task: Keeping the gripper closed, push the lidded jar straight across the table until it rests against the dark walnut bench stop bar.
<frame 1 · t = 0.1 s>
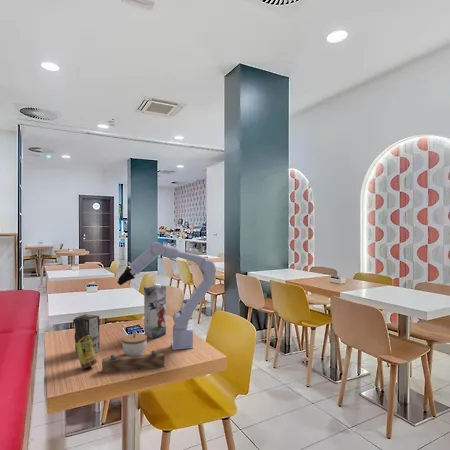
hand: (119, 282, 153), 32 cm above the table, tool tilted 50°, fingers open, 7 cm apart
bench stop: (133, 368, 136), on the table
juice carton: (155, 335, 176), on the table
lidded jar: (134, 355, 150), on the table
sauce bottle: (90, 366, 137), point 1 cm above the table
coffee box: (87, 352, 154), on the table
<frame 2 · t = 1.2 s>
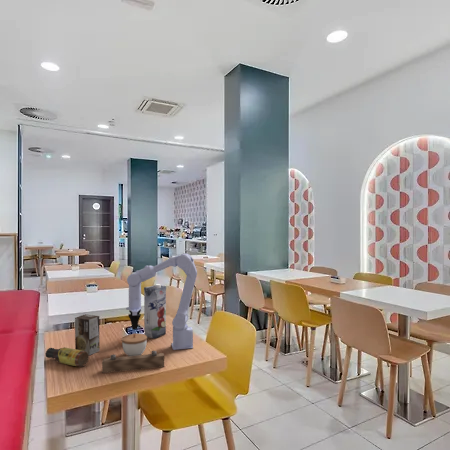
hand: (134, 326, 160), 9 cm above the table, tool pointing down, fingers open, 7 cm apart
sauce bottle: (84, 359, 138), point 3 cm above the table
everything else where it was.
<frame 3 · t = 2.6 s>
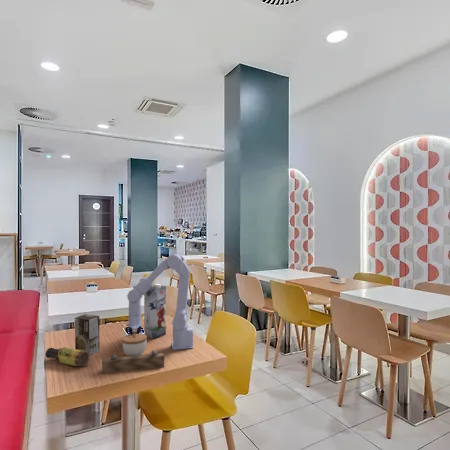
hand: (134, 342, 161), 2 cm above the table, tool pointing down, fingers closed
nothing on the table moved.
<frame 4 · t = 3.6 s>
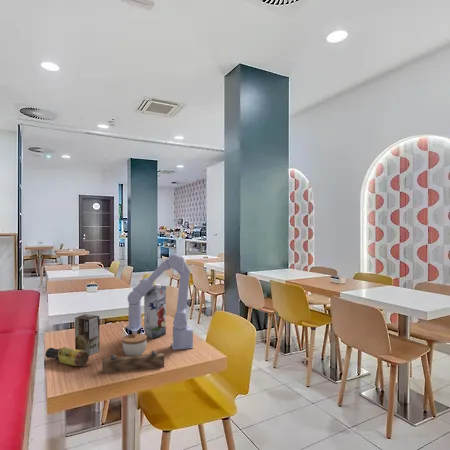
hand: (134, 345, 158), 1 cm above the table, tool pointing down, fingers closed
lidded jar: (134, 355, 150), on the table, touching gripper
everything else where it was.
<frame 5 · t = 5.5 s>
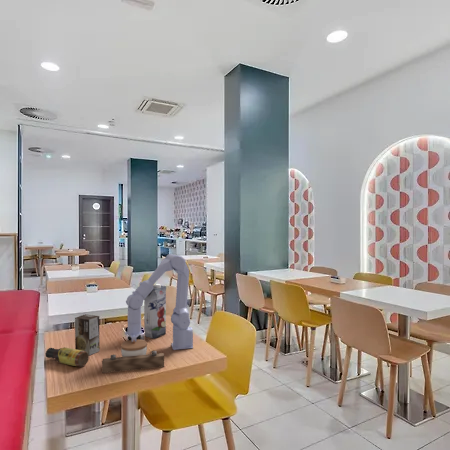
hand: (134, 352, 149), 1 cm above the table, tool pointing down, fingers closed
lidded jar: (134, 362, 143), on the table, touching bench stop, gripper
everything else where it was.
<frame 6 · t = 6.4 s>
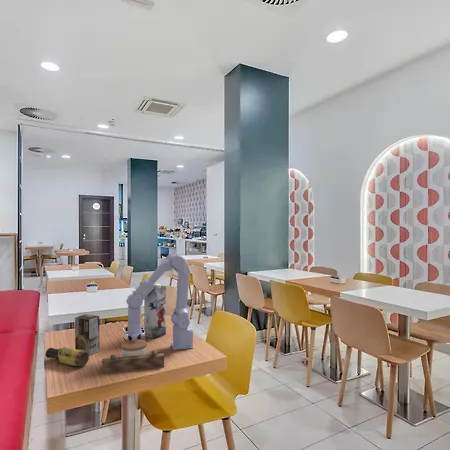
hand: (134, 351, 150), 1 cm above the table, tool pointing down, fingers closed
lidded jar: (134, 362, 143), on the table, touching bench stop
everything else where it was.
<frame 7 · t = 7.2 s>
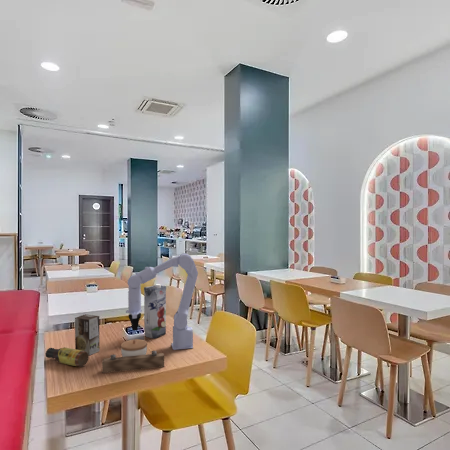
hand: (134, 329, 157), 9 cm above the table, tool pointing down, fingers closed
nothing on the table moved.
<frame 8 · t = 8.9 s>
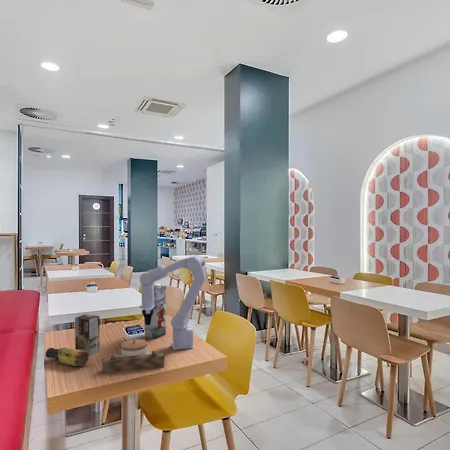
hand: (147, 324, 163), 9 cm above the table, tool pointing down, fingers closed
nothing on the table moved.
at the end: lidded jar inside the target area (0.5 cm from its centre), on the table; lidded jar tilted 0° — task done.
